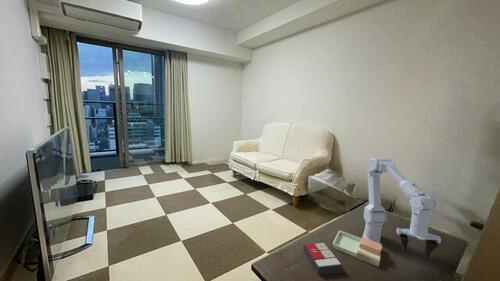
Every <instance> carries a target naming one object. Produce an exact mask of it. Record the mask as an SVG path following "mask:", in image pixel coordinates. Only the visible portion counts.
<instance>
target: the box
mask: <svg viewBox="0 0 500 281" xmlns="http://www.w3.org/2000/svg"><path fill="white" fill-rule="evenodd" d="M361 238H362V237H359V236H356V235H353V234H351V233H348V232H345V231H341V230H338V232H337V234H336V235H335V238H334V240H333V242H332V244H331V248H332V249H334V250H336V251H339V252H341V253H344V254H346V255H349V256H351V257H353V258H356V256H357V251H358V248H359V244H360V241H361ZM356 259H357V258H356Z"/></svg>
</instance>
